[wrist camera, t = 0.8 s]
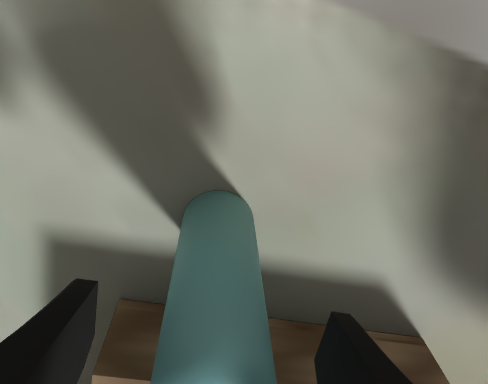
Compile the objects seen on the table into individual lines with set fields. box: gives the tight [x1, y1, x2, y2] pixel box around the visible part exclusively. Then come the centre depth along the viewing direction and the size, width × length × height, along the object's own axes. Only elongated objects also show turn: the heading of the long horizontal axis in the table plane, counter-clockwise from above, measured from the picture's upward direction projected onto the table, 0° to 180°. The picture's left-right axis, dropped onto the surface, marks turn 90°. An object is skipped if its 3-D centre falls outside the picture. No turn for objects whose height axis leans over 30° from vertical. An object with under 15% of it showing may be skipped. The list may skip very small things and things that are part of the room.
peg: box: [150, 191, 277, 384], centre depth 14 cm, size 3×3×9 cm
